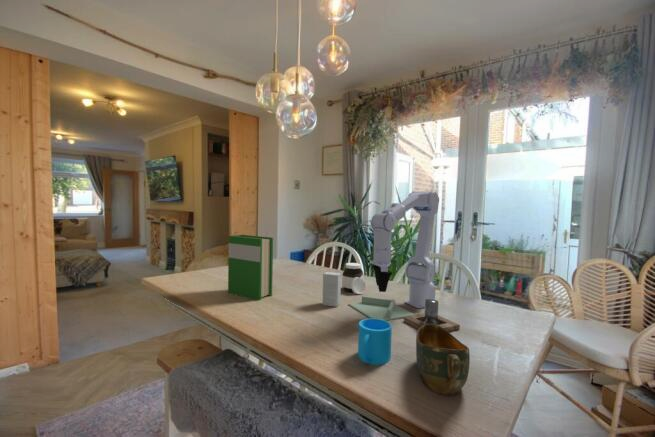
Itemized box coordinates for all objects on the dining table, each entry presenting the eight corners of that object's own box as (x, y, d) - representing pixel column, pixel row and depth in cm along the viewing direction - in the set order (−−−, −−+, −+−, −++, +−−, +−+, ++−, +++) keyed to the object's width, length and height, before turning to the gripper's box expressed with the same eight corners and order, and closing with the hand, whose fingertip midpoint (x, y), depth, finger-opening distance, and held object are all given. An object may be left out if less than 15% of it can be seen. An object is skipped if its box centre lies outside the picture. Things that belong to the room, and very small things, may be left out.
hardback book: (272, 295, 125) (273, 237, 124) (259, 300, 119) (260, 239, 118) (241, 288, 134) (242, 234, 133) (228, 292, 128) (228, 235, 127)
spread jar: (351, 286, 144) (351, 261, 143) (372, 290, 137) (373, 264, 136) (336, 291, 134) (337, 265, 133) (359, 296, 127) (360, 269, 127)
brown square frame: (431, 316, 106) (431, 312, 106) (459, 329, 95) (459, 324, 95) (403, 321, 101) (404, 316, 101) (430, 335, 90) (430, 330, 90)
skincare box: (340, 303, 117) (341, 273, 116) (337, 307, 113) (338, 275, 112) (325, 301, 119) (326, 271, 118) (321, 305, 115) (322, 273, 114)
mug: (365, 345, 82) (366, 316, 82) (395, 354, 78) (396, 322, 78) (345, 365, 72) (346, 331, 72) (377, 375, 68) (379, 340, 67)
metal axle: (431, 322, 100) (432, 298, 100) (440, 326, 97) (441, 301, 96) (421, 324, 99) (422, 299, 98) (430, 328, 95) (431, 303, 95)
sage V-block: (382, 300, 123) (383, 292, 123) (415, 315, 106) (415, 307, 106) (348, 304, 116) (348, 296, 116) (376, 322, 99) (377, 313, 99)
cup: (393, 389, 63) (395, 341, 62) (422, 352, 79) (424, 314, 79) (460, 415, 56) (463, 360, 55) (476, 369, 72) (479, 327, 72)
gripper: (368, 245, 110) (367, 282, 111) (372, 251, 96) (370, 294, 96) (388, 246, 110) (387, 283, 110) (394, 252, 95) (393, 294, 96)
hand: (381, 288), depth 103 cm, fingers open, 7 cm apart
